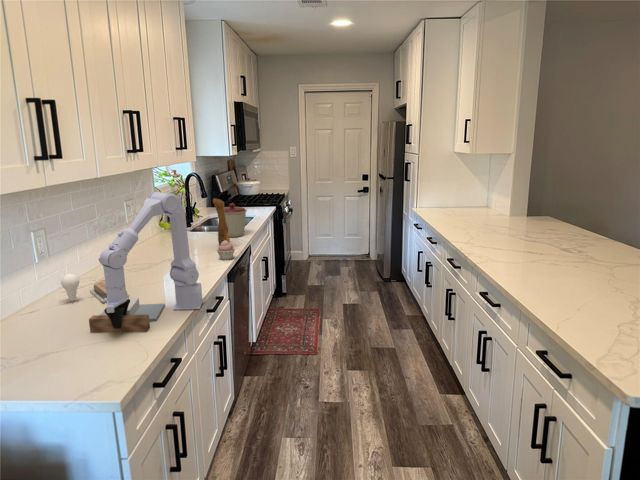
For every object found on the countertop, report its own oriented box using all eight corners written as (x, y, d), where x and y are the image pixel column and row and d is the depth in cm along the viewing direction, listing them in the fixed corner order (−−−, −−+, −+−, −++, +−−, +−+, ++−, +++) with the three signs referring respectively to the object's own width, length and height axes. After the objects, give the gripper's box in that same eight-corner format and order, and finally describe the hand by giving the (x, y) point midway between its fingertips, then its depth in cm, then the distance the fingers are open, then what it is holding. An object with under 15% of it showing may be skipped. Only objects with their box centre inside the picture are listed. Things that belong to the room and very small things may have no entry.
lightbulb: (78, 303, 165) (74, 276, 163) (61, 304, 164) (57, 277, 162) (84, 298, 171) (80, 271, 169) (67, 298, 170) (63, 272, 168)
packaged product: (129, 287, 171) (101, 293, 164) (130, 299, 172) (103, 305, 165) (113, 276, 184) (88, 281, 177) (115, 287, 185) (89, 293, 178)
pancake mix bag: (220, 251, 240) (217, 201, 234) (214, 244, 258) (212, 196, 251) (232, 250, 243) (230, 200, 236) (226, 243, 260) (224, 196, 254)
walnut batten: (149, 328, 145) (148, 314, 144) (146, 332, 142) (145, 318, 141) (94, 329, 144) (93, 315, 143) (90, 333, 142) (88, 319, 140)
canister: (233, 240, 267) (232, 206, 262) (212, 236, 276) (211, 203, 271) (253, 235, 281) (252, 202, 276) (233, 231, 291) (231, 200, 286)
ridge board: (164, 305, 164) (164, 295, 163) (156, 321, 150) (155, 310, 149) (108, 308, 161) (107, 298, 160) (95, 324, 148) (93, 313, 147)
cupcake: (237, 256, 231) (236, 238, 229) (232, 261, 222) (231, 242, 220) (220, 256, 232) (219, 237, 230) (214, 260, 223) (213, 241, 221)
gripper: (109, 278, 146) (114, 316, 149) (94, 294, 132) (99, 335, 135) (132, 278, 147) (135, 315, 150) (118, 293, 133) (122, 334, 136)
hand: (119, 324), depth 143 cm, fingers open, 4 cm apart
